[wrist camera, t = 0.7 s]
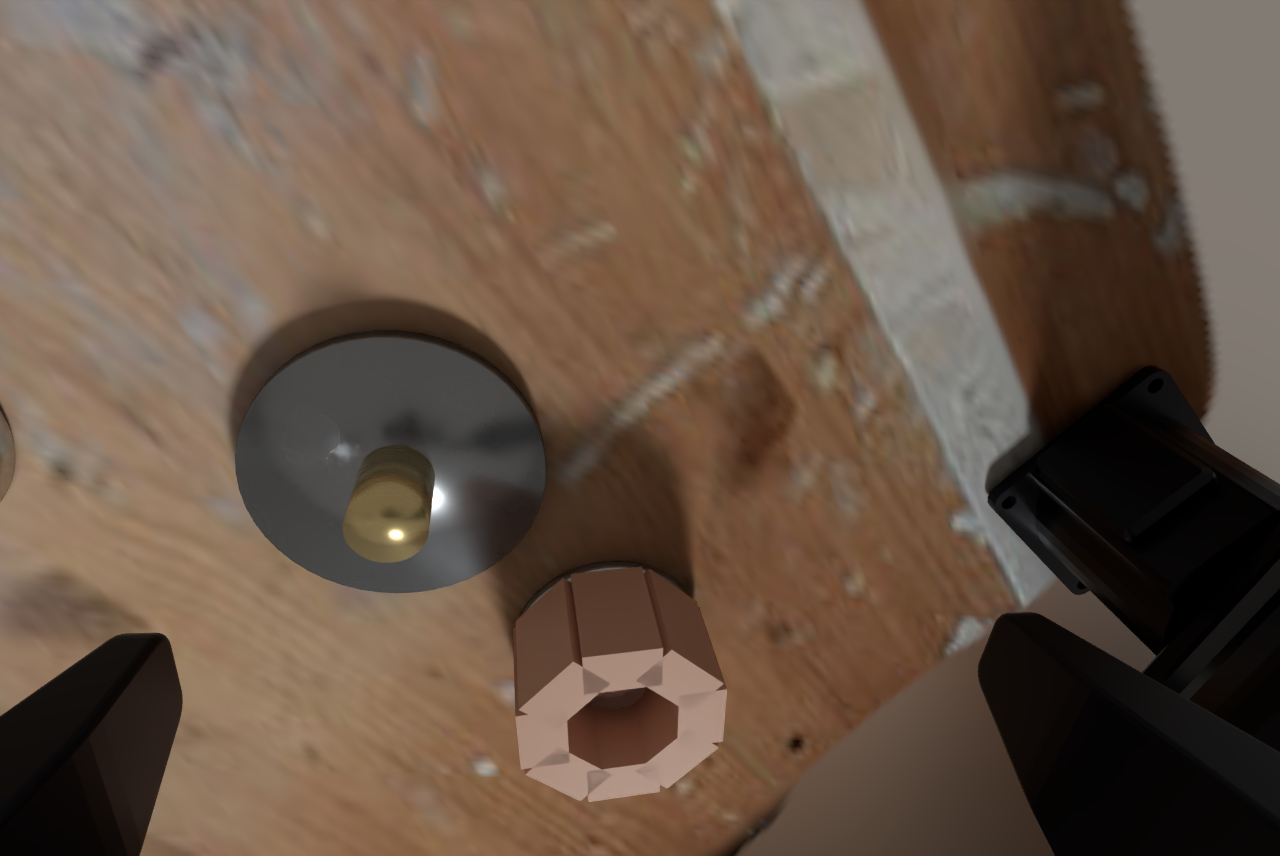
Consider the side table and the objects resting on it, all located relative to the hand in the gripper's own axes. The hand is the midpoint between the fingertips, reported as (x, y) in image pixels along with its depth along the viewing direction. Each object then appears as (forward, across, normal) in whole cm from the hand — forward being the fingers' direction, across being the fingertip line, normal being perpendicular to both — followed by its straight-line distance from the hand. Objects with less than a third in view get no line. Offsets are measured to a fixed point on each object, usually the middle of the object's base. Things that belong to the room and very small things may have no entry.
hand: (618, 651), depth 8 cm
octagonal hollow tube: (+13, -2, +12) cm, 17 cm away
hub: (+13, +4, +5) cm, 14 cm away
